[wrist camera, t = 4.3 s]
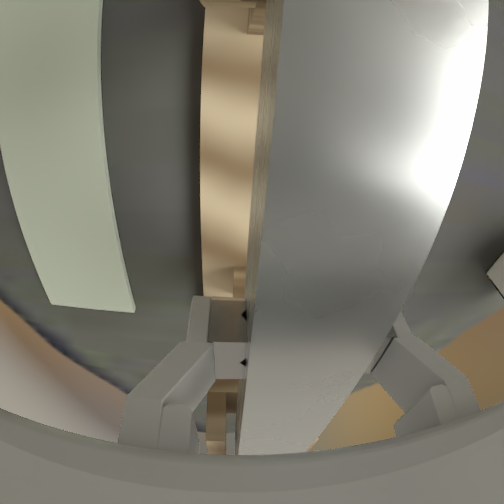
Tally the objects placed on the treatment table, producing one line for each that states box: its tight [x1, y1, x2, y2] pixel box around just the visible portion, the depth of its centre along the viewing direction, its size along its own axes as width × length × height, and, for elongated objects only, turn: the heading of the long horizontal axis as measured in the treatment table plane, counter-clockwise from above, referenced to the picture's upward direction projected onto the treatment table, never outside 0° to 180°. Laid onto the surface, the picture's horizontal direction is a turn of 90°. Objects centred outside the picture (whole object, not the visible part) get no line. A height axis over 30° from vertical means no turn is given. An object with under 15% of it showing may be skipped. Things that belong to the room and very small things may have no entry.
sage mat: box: [0, 0, 136, 313], centre depth 19 cm, size 30×10×1 cm, turn 176°
